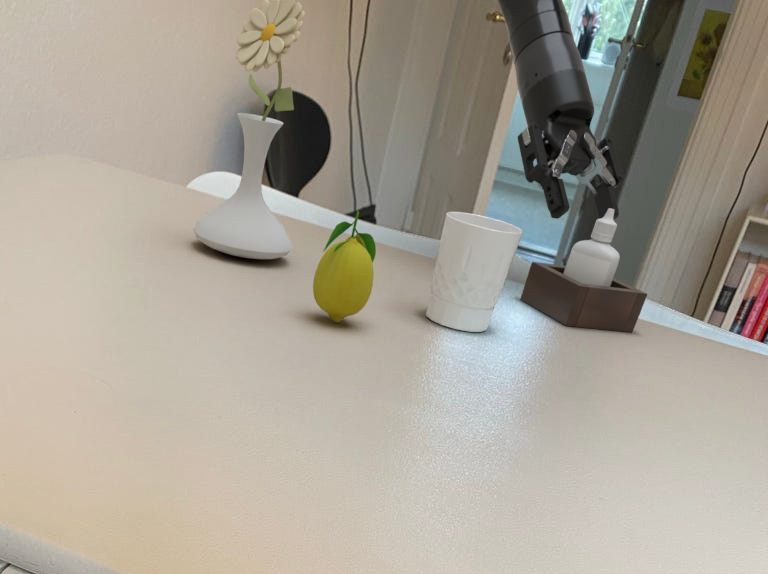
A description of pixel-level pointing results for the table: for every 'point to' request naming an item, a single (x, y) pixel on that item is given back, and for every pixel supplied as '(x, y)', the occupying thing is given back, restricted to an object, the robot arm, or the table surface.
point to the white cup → (471, 270)
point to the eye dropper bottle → (595, 255)
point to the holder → (582, 299)
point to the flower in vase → (256, 142)
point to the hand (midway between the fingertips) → (586, 217)
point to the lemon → (345, 273)
